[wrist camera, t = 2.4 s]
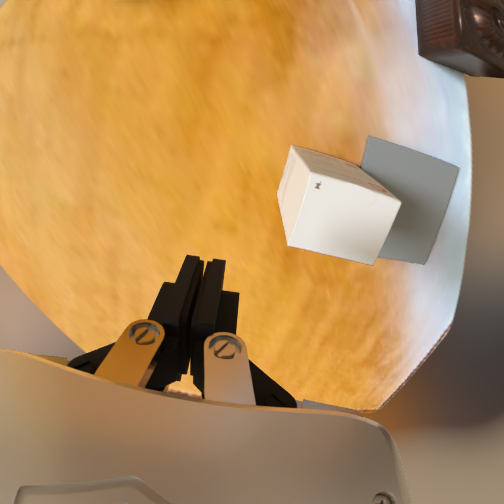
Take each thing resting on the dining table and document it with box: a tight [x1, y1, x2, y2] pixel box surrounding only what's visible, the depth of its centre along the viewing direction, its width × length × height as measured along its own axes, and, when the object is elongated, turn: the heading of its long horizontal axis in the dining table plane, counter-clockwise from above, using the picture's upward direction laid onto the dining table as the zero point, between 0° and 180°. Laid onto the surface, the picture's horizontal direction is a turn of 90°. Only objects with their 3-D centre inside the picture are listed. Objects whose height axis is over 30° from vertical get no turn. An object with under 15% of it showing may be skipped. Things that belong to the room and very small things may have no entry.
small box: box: [277, 145, 402, 266], centre depth 27 cm, size 8×6×13 cm
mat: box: [360, 136, 459, 265], centre depth 34 cm, size 15×14×1 cm
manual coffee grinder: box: [415, 0, 504, 78], centre depth 13 cm, size 16×11×18 cm
